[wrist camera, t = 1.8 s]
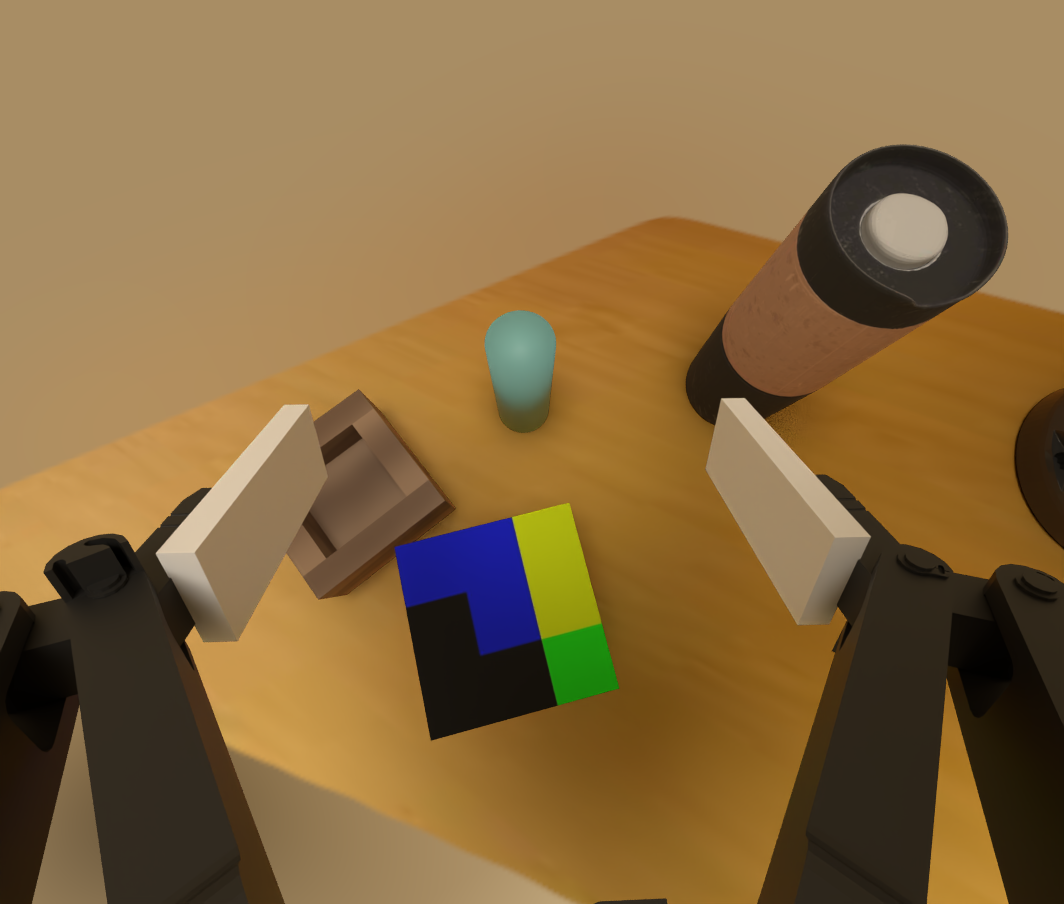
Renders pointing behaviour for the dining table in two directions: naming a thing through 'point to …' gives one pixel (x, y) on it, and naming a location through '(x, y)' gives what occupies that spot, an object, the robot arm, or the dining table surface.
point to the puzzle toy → (503, 620)
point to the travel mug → (853, 278)
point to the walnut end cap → (363, 500)
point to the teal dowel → (521, 368)
